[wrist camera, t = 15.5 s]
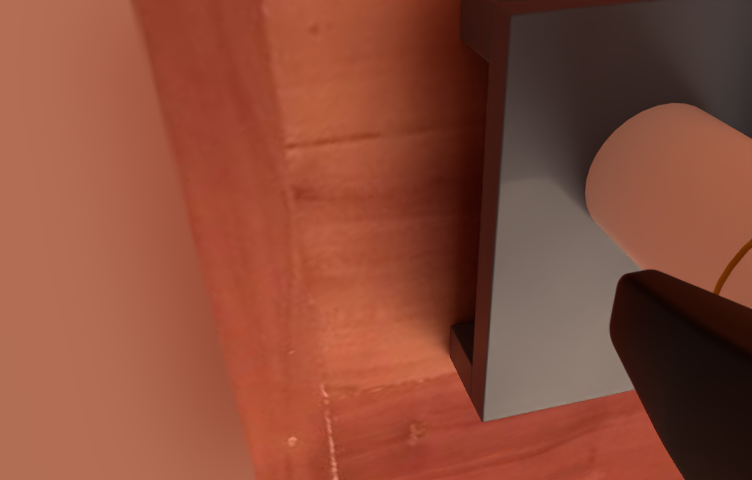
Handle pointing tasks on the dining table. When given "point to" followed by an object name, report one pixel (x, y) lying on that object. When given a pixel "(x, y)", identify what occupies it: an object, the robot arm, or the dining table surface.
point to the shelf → (573, 176)
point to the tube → (678, 197)
